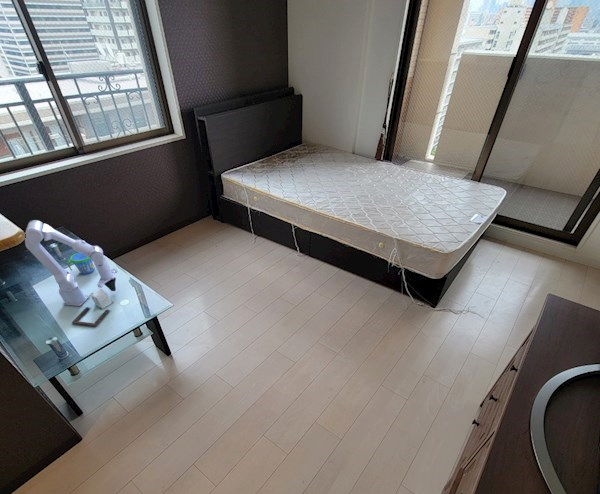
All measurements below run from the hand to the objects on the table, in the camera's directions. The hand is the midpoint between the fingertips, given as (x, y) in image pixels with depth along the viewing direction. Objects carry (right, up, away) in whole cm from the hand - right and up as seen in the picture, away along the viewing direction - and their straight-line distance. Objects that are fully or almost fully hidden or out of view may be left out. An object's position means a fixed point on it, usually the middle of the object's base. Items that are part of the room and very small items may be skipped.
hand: (113, 290), depth 185 cm
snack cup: (-24, +13, +16) cm, 32 cm away
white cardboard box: (-2, -8, -6) cm, 10 cm away
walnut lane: (-3, -15, -13) cm, 20 cm away
